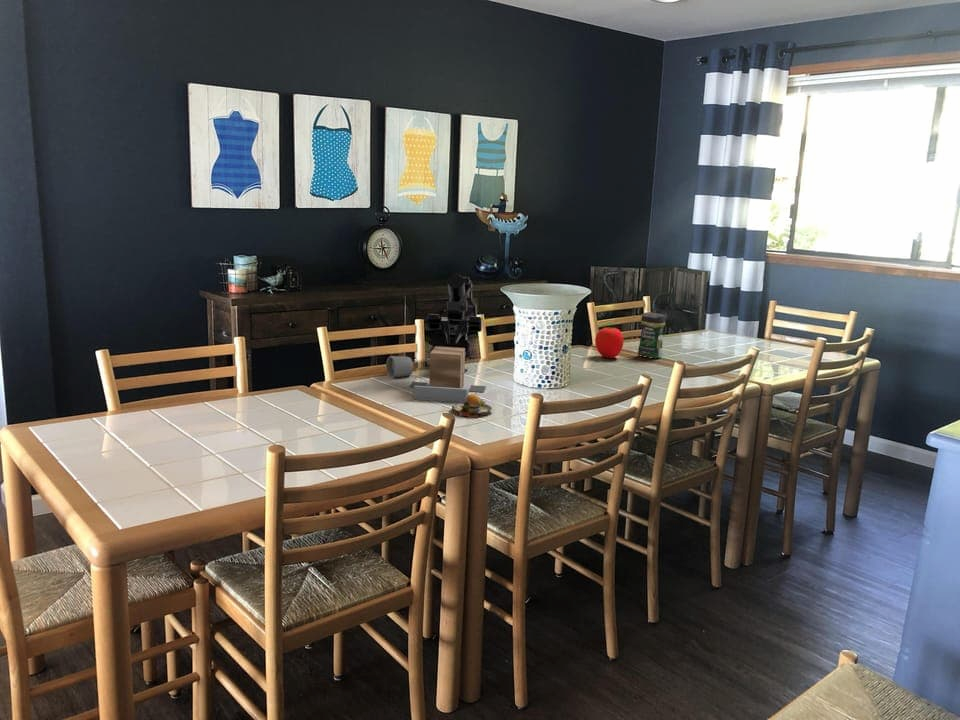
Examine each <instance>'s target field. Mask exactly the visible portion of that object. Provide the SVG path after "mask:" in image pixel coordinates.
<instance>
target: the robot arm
mask: <svg viewBox="0 0 960 720" xmlns="http://www.w3.org/2000/svg"><path fill="white" fill-rule="evenodd" d="M472 288H473V283H472V280H470V277H469V276H461V274H460V273H455V272H454V275H453V276H450V277H449V278H448V280H447V289H448V295H449V296H450V297H449V300H448V301H447V302H446V312H445V313H446V314H445V316H446V317H445V316H441V317H440V314H438V313H429V314H428V315H427V317H426V321H427V322H426V323H427V327H428V329H429V330H439V329H440V331H441V332H443V333H444V334H445V336H446V338H445V339H444V347H458V348H465V358H466V357H470V356H471V350H472V349H471V343H470V340H469V339H468V332H469V327H470V331H472V332H474V333H475V332H476V333H477V332H478V333H481V332H482V329H483V319H482V317H481V316H477V313H478V311H477V309H478V307H477V305H478V303H477V301H476V300H475V298H474V296H473V290H472ZM468 301H469V302H470V303H471V305H468ZM450 326H452V327H453V326H454V329H450ZM468 369H469V368H464V373H465V372H467V371H468Z"/></svg>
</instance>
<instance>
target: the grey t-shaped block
mask: <svg viewBox="0 0 960 720" xmlns="http://www.w3.org/2000/svg"><path fill="white" fill-rule="evenodd" d="M469 389H470V388H469ZM469 389H468V388H464V387H463V388H449V387H433V386H429V385H428V386H427V385H426V386H417V385H415V386H414V388H413V399H414V400H424V401H425V400H426V401H440V402H441V401H442V402H443V401H444V402H457V403H464V402H466V398H467V396H468V395H470V394H469V393H470V392H469Z"/></svg>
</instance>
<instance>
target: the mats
mask: <svg viewBox="0 0 960 720" xmlns="http://www.w3.org/2000/svg"><path fill="white" fill-rule="evenodd" d="M427 384H428V382H425V381H424V382H423V381H412V382H411V383H410V385H408V389H414V386H415V385H417V386H427ZM486 387H487V386H486V385H474V384H471V385H470V387H469V393H475V392H476V393H485V390H486Z"/></svg>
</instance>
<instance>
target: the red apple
mask: <svg viewBox="0 0 960 720" xmlns="http://www.w3.org/2000/svg"><path fill="white" fill-rule="evenodd" d="M623 336H624V334H623V333H622V331H621V330H620V329H618V328H616V327H611V326H608V327H603V328H602V329H600V330H598V332H597V333H596V335H595V340H594V342H595V347H596V350H597V352H598V353H599V355H600V356H602V357H604V358H607V359H608V358H609V359H614V358H616V357H618V355H619V356H620V353H621V352H622V349H623V347H624V337H623Z"/></svg>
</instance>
